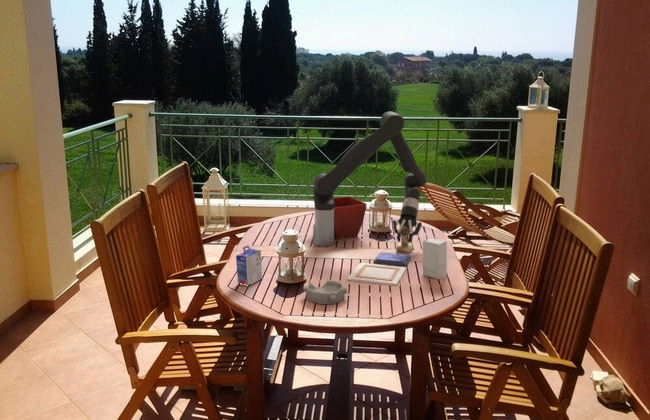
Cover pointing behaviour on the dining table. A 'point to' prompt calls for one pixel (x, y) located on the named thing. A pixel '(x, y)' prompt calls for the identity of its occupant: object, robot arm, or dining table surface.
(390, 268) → the marked board
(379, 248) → the dining table surface
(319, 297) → the dish
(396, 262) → the ink pad
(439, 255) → the skincare box
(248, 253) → the ink cartridge box
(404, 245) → the rubber stamp
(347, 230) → the plant pot
